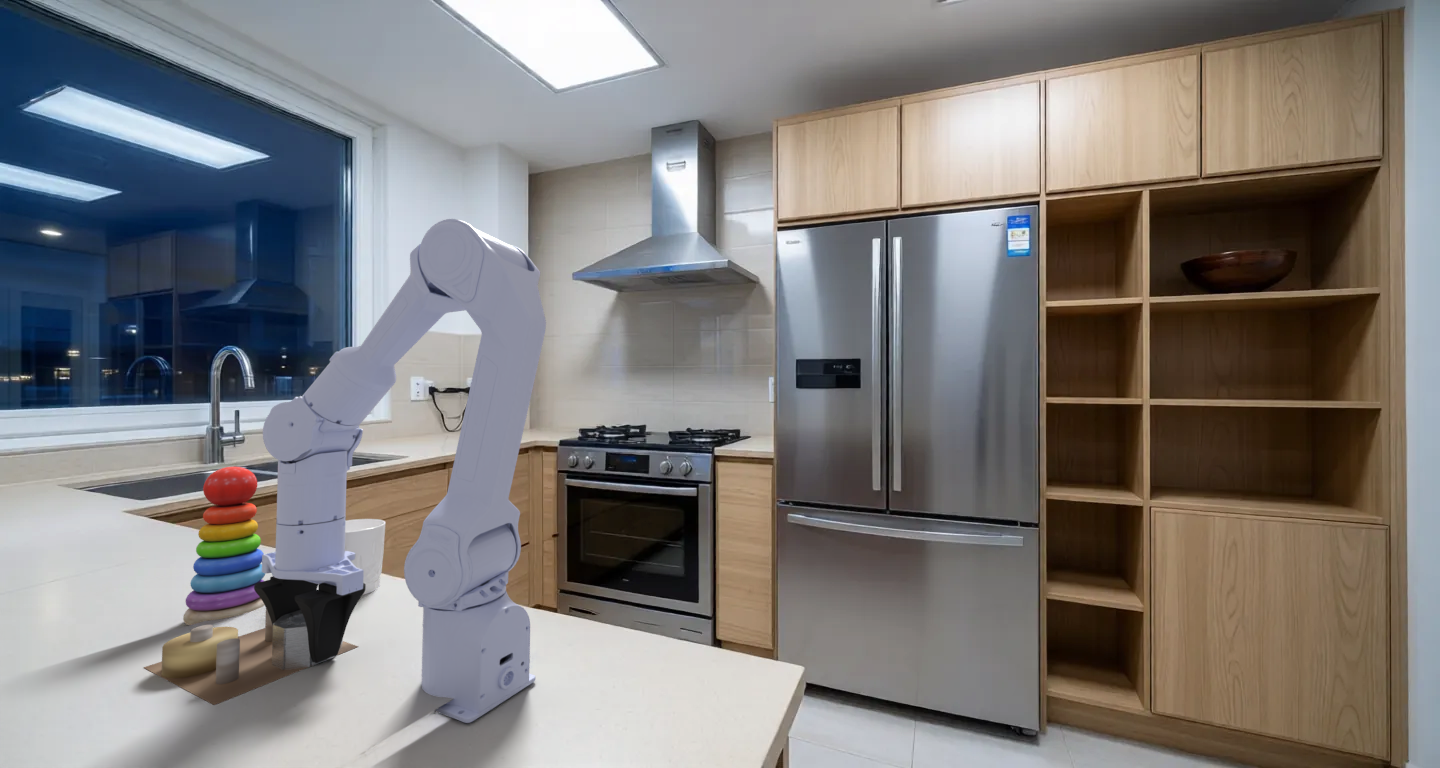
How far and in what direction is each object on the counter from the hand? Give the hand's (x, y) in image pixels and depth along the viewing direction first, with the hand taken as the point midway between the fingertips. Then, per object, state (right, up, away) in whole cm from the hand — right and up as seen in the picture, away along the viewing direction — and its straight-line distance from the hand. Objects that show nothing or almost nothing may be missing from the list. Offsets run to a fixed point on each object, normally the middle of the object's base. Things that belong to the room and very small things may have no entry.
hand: (308, 651), depth 55 cm
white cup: (-8, -2, +18) cm, 20 cm away
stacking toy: (-19, -2, +12) cm, 23 cm away
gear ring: (0, 0, 0) cm, 0 cm away
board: (-5, -2, 0) cm, 5 cm away
